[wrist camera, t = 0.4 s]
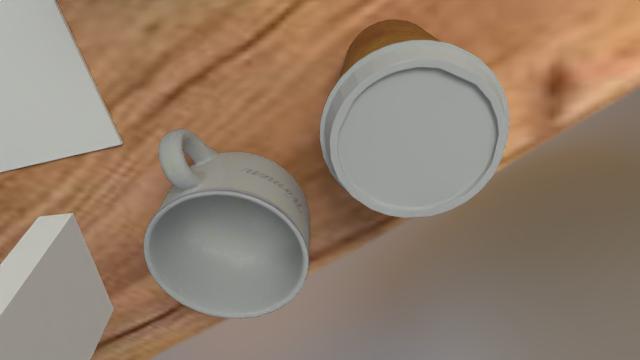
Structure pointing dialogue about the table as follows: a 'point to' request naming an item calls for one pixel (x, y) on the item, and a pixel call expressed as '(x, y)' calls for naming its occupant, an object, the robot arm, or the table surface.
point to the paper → (46, 89)
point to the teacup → (227, 231)
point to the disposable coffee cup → (413, 122)
